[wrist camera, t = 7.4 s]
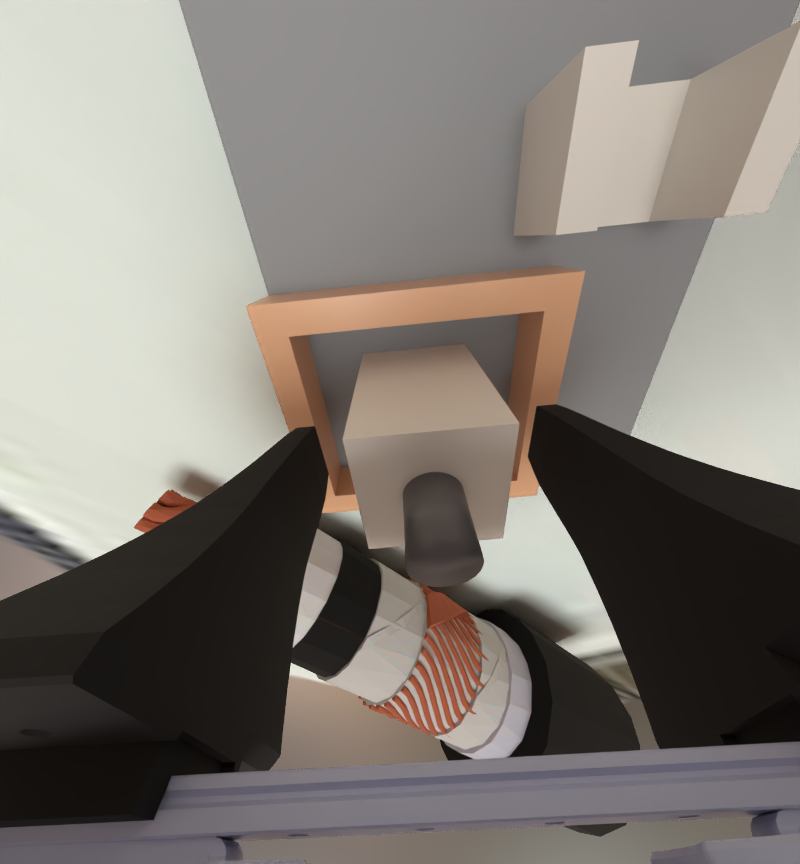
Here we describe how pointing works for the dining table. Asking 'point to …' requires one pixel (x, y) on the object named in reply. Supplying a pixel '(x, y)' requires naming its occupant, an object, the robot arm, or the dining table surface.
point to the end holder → (413, 304)
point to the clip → (658, 140)
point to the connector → (430, 459)
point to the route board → (448, 166)
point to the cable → (443, 662)
